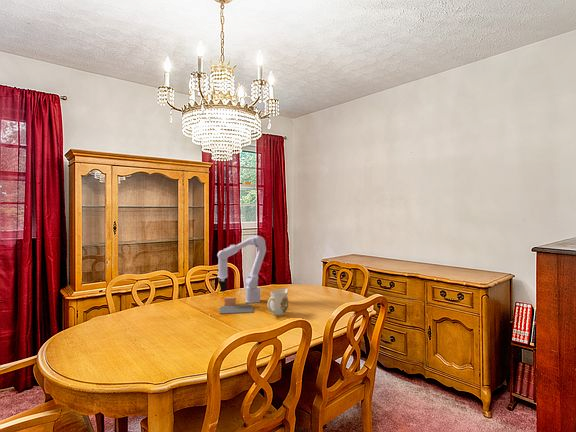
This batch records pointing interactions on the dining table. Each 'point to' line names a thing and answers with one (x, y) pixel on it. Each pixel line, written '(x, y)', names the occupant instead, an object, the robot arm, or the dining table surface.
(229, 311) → the mat
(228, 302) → the tile
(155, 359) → the dining table surface
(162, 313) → the dining table surface
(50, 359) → the dining table surface
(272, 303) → the pitcher
